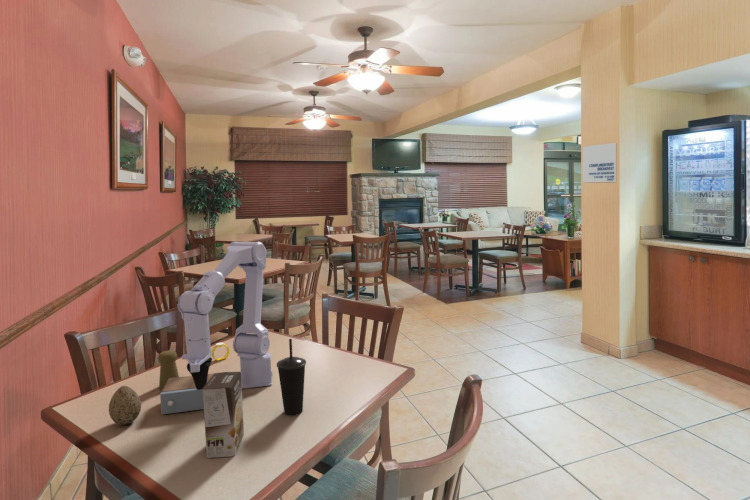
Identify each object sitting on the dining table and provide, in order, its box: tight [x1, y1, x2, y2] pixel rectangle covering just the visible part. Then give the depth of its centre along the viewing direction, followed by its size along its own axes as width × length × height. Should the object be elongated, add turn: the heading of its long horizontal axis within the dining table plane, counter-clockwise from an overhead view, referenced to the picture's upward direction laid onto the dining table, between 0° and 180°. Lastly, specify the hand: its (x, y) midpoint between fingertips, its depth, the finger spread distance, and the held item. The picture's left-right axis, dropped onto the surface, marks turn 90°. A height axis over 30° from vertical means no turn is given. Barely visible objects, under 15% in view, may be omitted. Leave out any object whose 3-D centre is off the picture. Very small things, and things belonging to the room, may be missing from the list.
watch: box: [211, 342, 230, 362], centre depth 152 cm, size 6×3×6 cm, turn 131°
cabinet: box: [161, 371, 224, 392], centre depth 120 cm, size 16×9×6 cm, turn 104°
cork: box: [157, 349, 180, 391], centre depth 130 cm, size 6×6×11 cm
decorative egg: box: [108, 385, 142, 426], centre depth 109 cm, size 7×7×10 cm
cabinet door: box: [159, 388, 204, 415], centre depth 114 cm, size 17×3×6 cm, turn 104°
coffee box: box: [202, 371, 245, 459], centre depth 97 cm, size 9×6×16 cm
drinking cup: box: [276, 338, 307, 417], centre depth 112 cm, size 8×8×20 cm
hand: (201, 388), depth 110 cm, fingers closed
